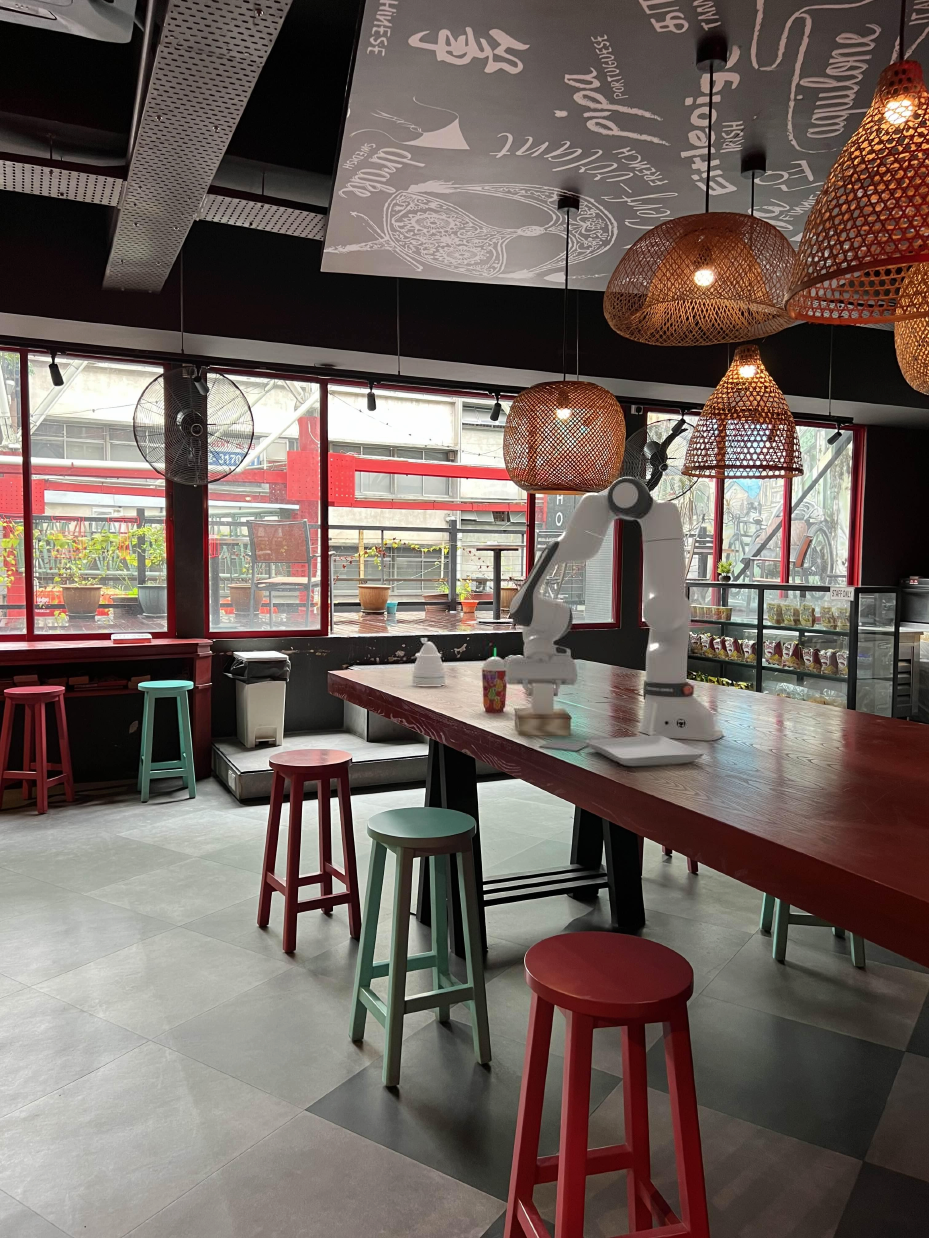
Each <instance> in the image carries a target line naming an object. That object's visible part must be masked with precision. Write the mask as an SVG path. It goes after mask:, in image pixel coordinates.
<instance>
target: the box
mask: <svg viewBox="0 0 929 1238" xmlns="http://www.w3.org/2000/svg"><path fill="white" fill-rule="evenodd" d="M513 711H514V727H515V730H516V732H517V735H518V736H571V725H572V723H571V722H572V716H571V714H570V713H569V712H568V711H567V710H566V709H565V708H553V714H533V713H532V712H531V707H530V708H529V707H528V708H527V707H523V708H522V707H519V708H518V707H515V708H513Z"/></svg>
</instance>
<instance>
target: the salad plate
mask: <svg viewBox="0 0 929 1238" xmlns="http://www.w3.org/2000/svg"><path fill="white" fill-rule="evenodd" d="M585 743H587V744H588V747H590V749H592V750H593V751H595V752H596V753H599V754H601V755H603V756H604V755H605V756H604V757H606V756H607V757H606V758H609V759H610V760H612V761H614V762H616V761H617V763H618V762H619V763H618V764H620V765H623V766H625V767H654V766H669V765H671V764H672V765H682V764H686V763H687V764H689V763H691V762H695V761H697V760H699V759H701V758H702V757H703V756H704V755H705V752H702V751H701V750H698V749H696V748H694V747H691V746H689V745H687V744H683V743H681V742H680V741H677V740H674V739H672V738H666V737H664V736H650V735H647V736H629V737H628V736H627V737H615V738H612V737H611V738H604V739H599V738H598V739H587V740H585ZM672 765H671V766H672Z"/></svg>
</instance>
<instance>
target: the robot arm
mask: <svg viewBox="0 0 929 1238" xmlns="http://www.w3.org/2000/svg"><path fill="white" fill-rule="evenodd" d="M681 517H682V516H681V513H680V510H679V507H678V506H677V505H676V503H674V501H673V502H672V501H669V500H665V499H661V500H660V499H659V500H657V499H654V498H653V496H652V494H651V492H650V491H649V488H648V487H647V485H646V484H645V483H644V482H642V481H641V480H639V479H638V478H636V477H633V476H622V477H620V478H618V479H616V480H615V481H613V483H612V484H611V485H610V486H609V488H608V491H607V494H602V493H599V492H588V493H585V494H584V495H582V496H581V497H580V500H579V501H578V502H577V504H576V506H575V508H574V510H573V512H572V513H571V516H570V518H569V520H568V523H567V525H566V527H565V530H564V531H563V532H562V534H560V536H558V537H557V538H556V539H552V540H550V541H549V542H548V543H547V544H546V545H545V547H544V549H543V550H542V551H541V554H540V555H539V556H538V558H537V560H536V561H535V563H534V565H533V566H532V568H531V570H530V572H529V574H528V575H527V577H526V579H525V581H524V582H523V583H522V585H521V586H520V588H519V590H517V592H516V593H515V595H514V596H513V598H512V600H511V601H510V603H509V608H508V613H509V617H510V618H511V620H512V622H513V623H514V624H515V625H516V626H519V627H521V626H522V640H523V643H524V644H523V655H508V656H507V657H505V658H503V660H504V667H505V668H506V676H505V682H506V683H507V685H510V686H511V685H513V686H514V685H515V686H516V685H517V686H519V685H520V686H522V688H523V690H524V691H525V692H526V696H527V697H531V696H532V694H533V691H532V690H533V689H532V688H531V687H530V685H531V683H532V682H541V683H552V684H553V685H554V697H558V696H559V690H561V686H574V685H575V684H577V682H578V670H577V665H576V663H575V660H574V659H573V658H572V656H571V649H570V648H566V647H563V646H559V645H556V644H554V642H555V641H558V640H559V639H561V638H562V637H564V636H566V634H567V633H568V632H569V631H570V630H571V628H572V625H573V620H574V618H573V617H574V615H573V611H572V608H571V606H570V605H569V604H568V603H565V602H562V601H559V600H557V599H554V598H550V597H546V596H544V595H541V594H539V592H540V590H541V589H542V586H543V585H544V583H545V582H546V580H547V578H548V576H549V574H550V573H551V572H552V570H553V569H554V568H555V567H557V566H559V565H562V564H568V563H569V564H571V563H572V564H573V563H574V564H575V563H583V562H587V561H589V560H591V559H593V558H594V557H596V556H597V554H598V552H600V549H601V547H602V546H603V542H604V540H605V537H606V536H607V533H608V530H609V528H610V525H611V524H612V523H613V522H614V521H615V520H617V521H618V520H619V521H638V523H639V525H640V526H641V535H642V537H641V539H642V551H643V567H644V569H643V570H644V572H643V573H644V574H643V592H642V593H643V596H642V597H643V598H642V599H643V600H642V601H643V603H642V605H643V606H642V608H643V609H642V615H643V619H644V621H645V624H647V626H648V627H649V634H648V642H647V648H646V652H645V679H644V681H643V690H642V693H643V694H642V696H643V700H644V702H643V709H642V714H641V715H642V716H641V719H640V724H639V727H638V729H637V730H638V731H639V732H640V733H642V734H645V735H648V736H664V737H666V738H669V739H678V740H679V739H681V740H693V741H695V740H696V741H708V742H709V741H715V740H719V739H721V738H722V737H723V736H724V732H723V730H721V729H720V728H719V729H717V728H716V726H715V725H716V724H715V719H714V714H713V712H712V711H711V709H709V708H708V707H706V706H705V705H704V703H702V702H700V701H699V700H698V699H697V698H696V697H695V696H694V693H695V692H694V691H695V684H693V685H692V684H691V682H688V681H687V678H688V677H687V675H688V672H687V671H688V650H689V641H690V632H691V622H692V621H691V620H692V606H691V603H690V601H689V599H688V598H687V596H686V595H685V583H686V581H685V580H686V567H687V566H686V555H685V554H686V553H685V540H684V539H685V538H684V529H683V528H684V527H683V524H682V523H683V522H682V518H681Z"/></svg>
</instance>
